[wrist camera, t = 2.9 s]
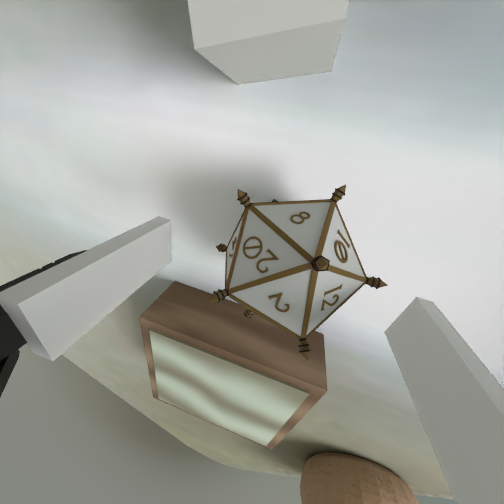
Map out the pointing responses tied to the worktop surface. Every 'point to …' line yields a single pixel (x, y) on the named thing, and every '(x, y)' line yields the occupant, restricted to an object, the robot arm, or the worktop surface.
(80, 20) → the worktop surface
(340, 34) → the grey block
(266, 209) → the game die
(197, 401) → the walnut framed mirror
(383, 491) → the potted plant
